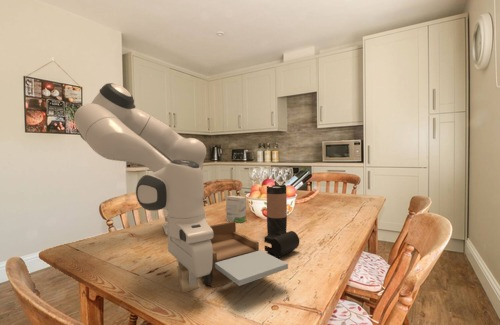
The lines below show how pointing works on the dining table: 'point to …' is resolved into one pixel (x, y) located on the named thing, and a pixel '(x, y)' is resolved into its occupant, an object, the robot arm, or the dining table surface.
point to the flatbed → (227, 250)
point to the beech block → (184, 279)
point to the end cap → (281, 243)
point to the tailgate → (250, 267)
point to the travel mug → (276, 209)
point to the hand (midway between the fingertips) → (187, 280)
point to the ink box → (236, 209)
